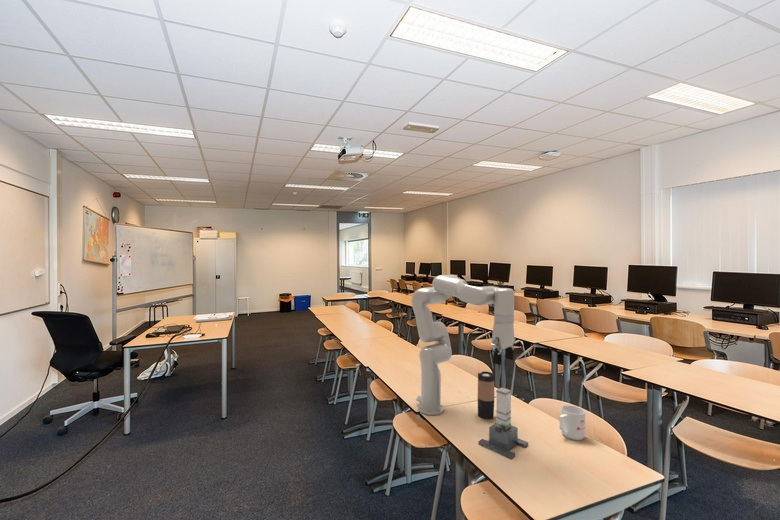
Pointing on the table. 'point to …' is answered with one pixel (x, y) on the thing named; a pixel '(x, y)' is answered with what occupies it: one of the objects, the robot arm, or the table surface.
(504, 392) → the column
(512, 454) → the stand
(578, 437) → the mug
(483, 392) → the travel mug
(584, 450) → the table surface
